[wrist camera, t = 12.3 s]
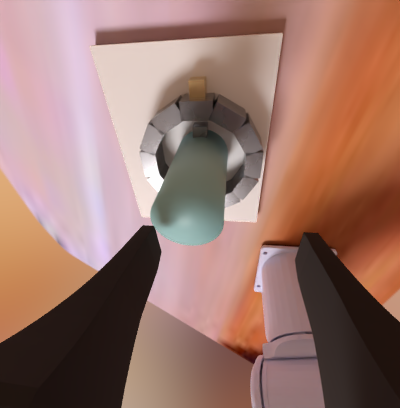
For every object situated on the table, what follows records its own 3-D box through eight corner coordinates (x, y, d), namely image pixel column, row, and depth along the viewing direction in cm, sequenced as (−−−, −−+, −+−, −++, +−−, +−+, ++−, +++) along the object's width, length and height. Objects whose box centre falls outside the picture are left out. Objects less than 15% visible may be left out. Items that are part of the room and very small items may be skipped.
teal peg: (229, 119, 16) (225, 180, 10) (226, 181, 20) (222, 255, 13) (175, 119, 17) (140, 177, 10) (182, 180, 20) (158, 250, 14)
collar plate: (255, 216, 23) (257, 237, 21) (144, 212, 24) (135, 230, 22) (280, 32, 13) (289, 34, 11) (95, 44, 15) (71, 49, 13)
